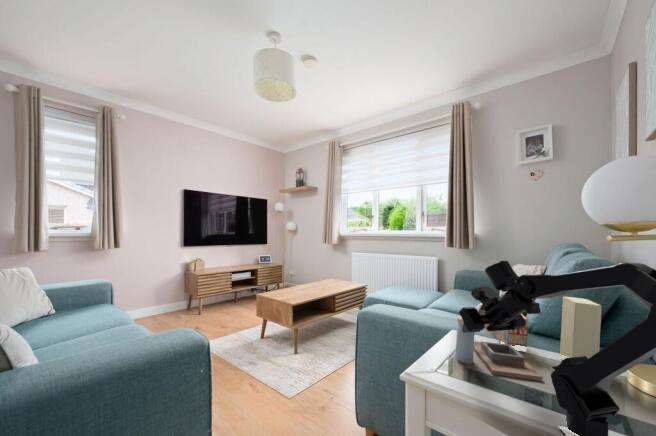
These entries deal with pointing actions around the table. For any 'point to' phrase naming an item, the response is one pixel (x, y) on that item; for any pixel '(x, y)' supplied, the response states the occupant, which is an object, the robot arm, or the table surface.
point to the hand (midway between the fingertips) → (475, 330)
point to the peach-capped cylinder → (464, 344)
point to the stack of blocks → (512, 335)
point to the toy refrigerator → (580, 327)
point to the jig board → (505, 361)
